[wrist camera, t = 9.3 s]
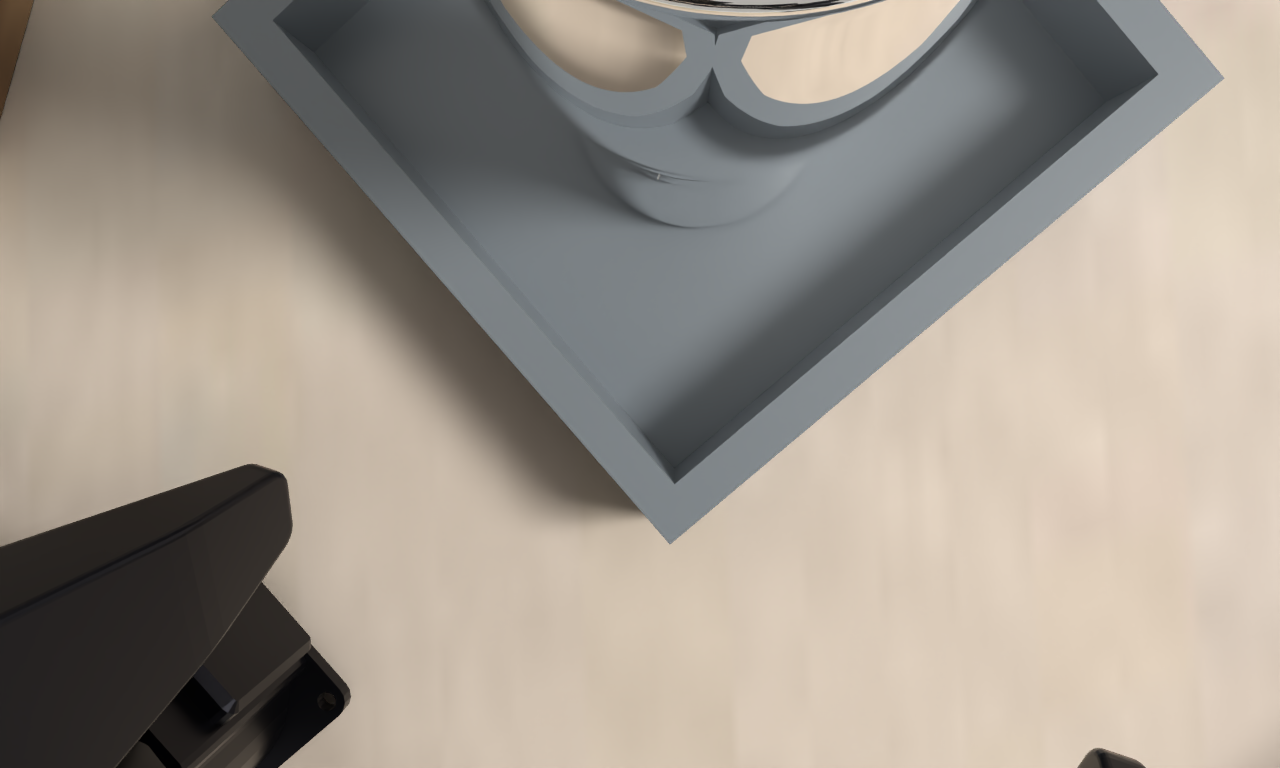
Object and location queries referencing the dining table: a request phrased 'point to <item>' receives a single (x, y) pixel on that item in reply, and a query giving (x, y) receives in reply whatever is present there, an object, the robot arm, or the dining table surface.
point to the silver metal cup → (718, 86)
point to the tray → (726, 254)
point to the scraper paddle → (11, 39)
